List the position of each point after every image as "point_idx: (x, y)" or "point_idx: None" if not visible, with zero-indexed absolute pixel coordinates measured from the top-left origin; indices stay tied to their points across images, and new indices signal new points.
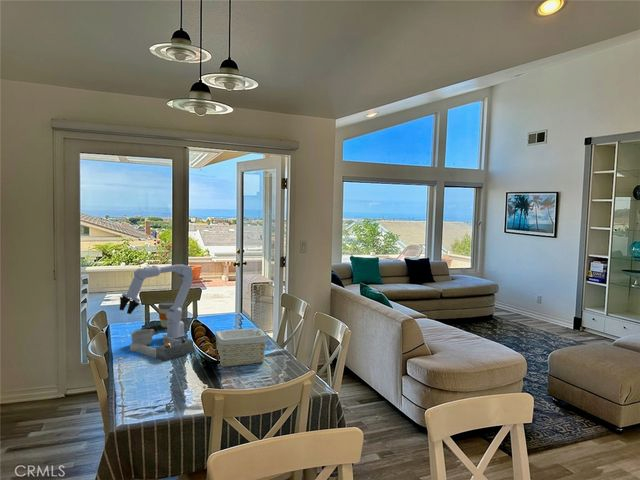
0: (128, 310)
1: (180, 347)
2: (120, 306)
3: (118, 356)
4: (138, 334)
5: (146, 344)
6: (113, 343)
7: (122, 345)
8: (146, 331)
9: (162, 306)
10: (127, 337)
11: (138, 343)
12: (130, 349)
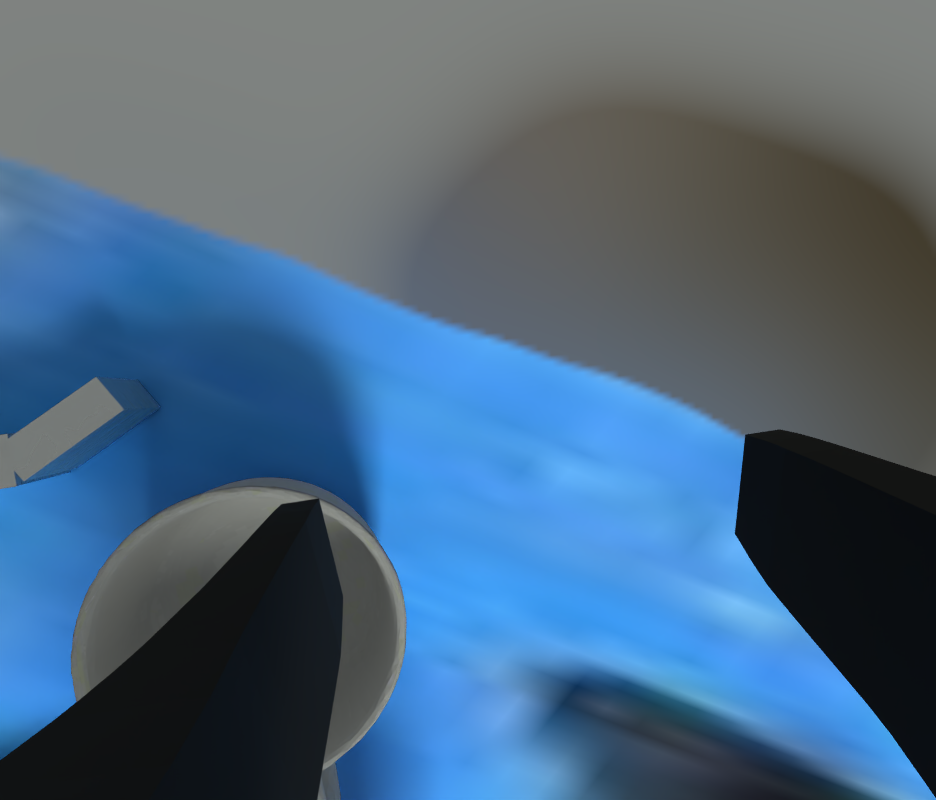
0: (233, 560)
1: None
2: (841, 467)
3: (38, 203)
4: (123, 542)
5: (170, 602)
6: (557, 364)
7: (422, 406)
8: (334, 731)
9: None
10: (669, 561)
11: (37, 471)
12: (124, 381)
